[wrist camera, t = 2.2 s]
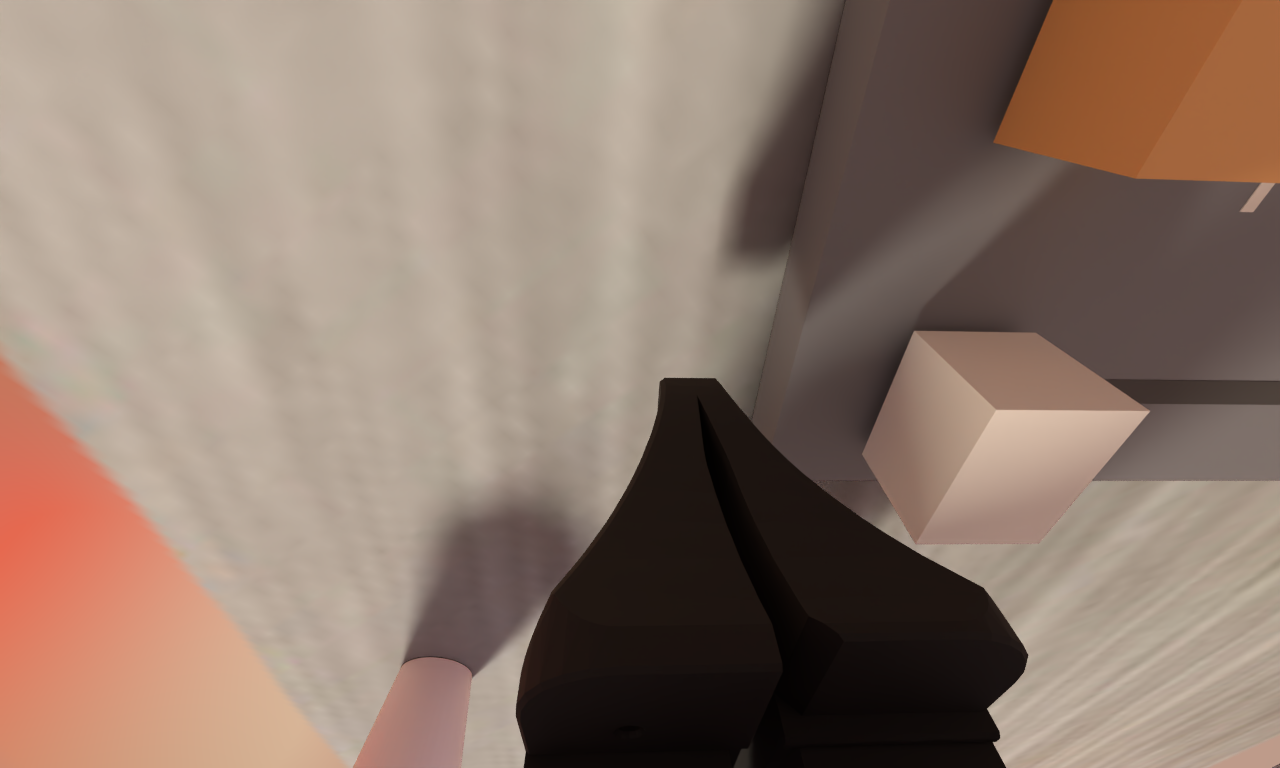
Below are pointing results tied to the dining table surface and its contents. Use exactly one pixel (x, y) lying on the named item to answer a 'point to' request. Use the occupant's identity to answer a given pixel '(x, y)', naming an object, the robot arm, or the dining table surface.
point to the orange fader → (1154, 89)
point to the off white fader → (992, 436)
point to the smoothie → (421, 718)
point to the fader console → (1012, 257)
